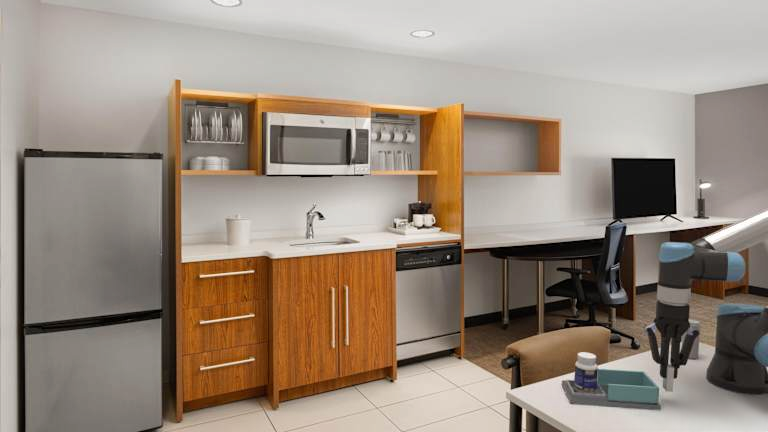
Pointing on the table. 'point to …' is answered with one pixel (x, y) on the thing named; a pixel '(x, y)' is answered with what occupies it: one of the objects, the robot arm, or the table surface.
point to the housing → (629, 385)
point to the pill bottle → (586, 373)
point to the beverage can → (695, 346)
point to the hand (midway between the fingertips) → (667, 389)
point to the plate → (602, 398)
